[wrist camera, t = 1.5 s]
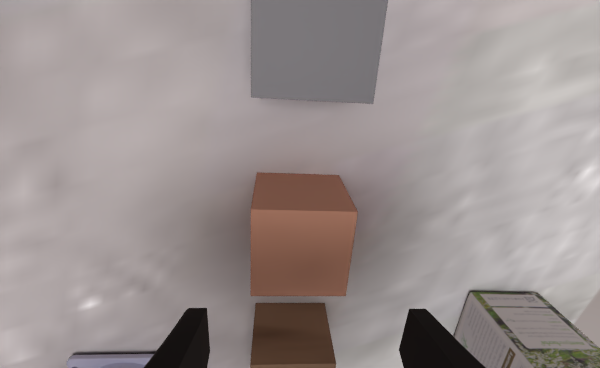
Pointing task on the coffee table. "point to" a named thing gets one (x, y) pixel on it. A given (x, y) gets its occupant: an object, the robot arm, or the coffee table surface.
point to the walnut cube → (291, 336)
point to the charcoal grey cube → (316, 49)
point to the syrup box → (522, 333)
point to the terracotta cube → (301, 235)
